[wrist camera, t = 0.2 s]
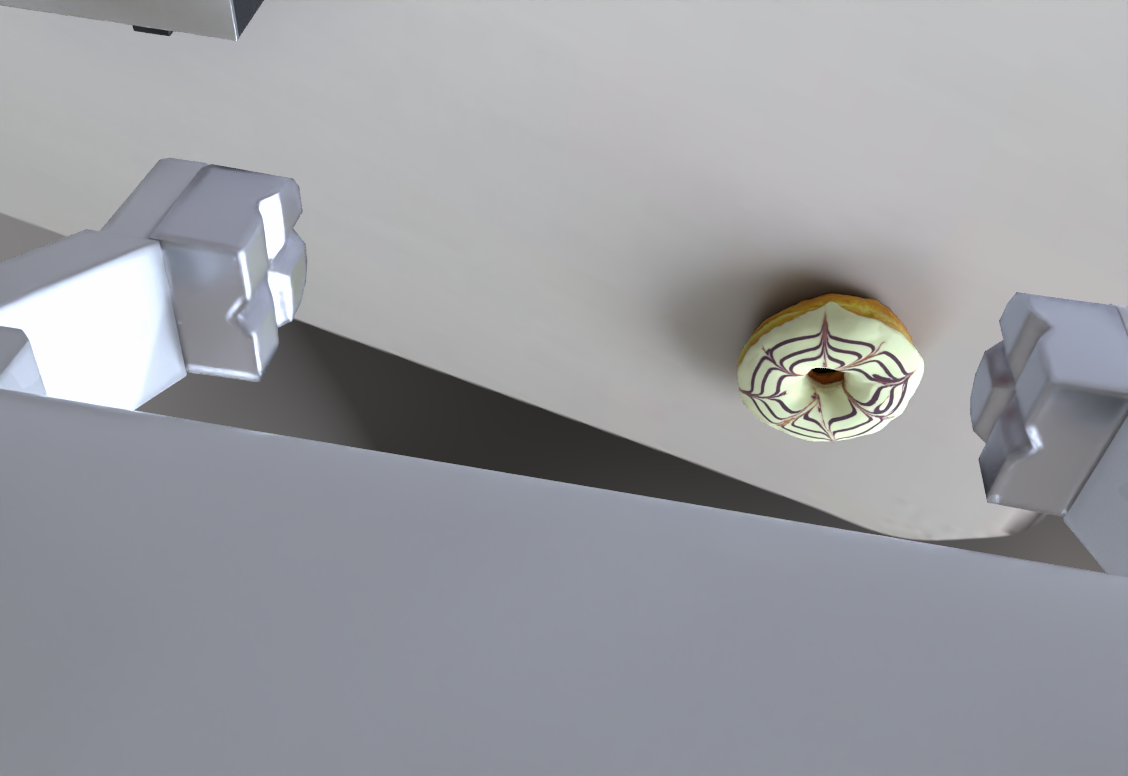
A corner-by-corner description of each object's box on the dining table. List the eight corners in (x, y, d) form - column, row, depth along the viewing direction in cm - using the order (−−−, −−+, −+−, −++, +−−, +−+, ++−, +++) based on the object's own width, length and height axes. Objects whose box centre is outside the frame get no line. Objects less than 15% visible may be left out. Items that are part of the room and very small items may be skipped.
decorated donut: (956, 337, 64) (962, 384, 62) (835, 427, 71) (836, 472, 69) (818, 256, 61) (819, 302, 58) (707, 359, 68) (703, 403, 66)
